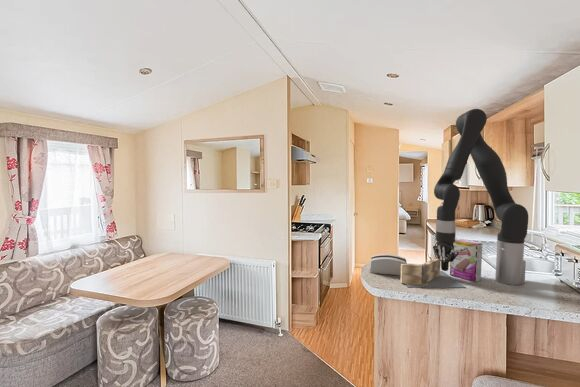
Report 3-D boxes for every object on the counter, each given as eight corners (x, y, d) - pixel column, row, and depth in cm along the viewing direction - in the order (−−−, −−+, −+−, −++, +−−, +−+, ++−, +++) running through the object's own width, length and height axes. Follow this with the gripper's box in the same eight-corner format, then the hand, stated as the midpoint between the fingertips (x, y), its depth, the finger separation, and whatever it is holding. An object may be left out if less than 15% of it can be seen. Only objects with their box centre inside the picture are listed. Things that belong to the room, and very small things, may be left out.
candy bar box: (449, 275, 137) (450, 239, 136) (455, 273, 140) (456, 237, 139) (475, 282, 128) (477, 244, 127) (481, 280, 131) (483, 242, 130)
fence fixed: (425, 283, 128) (425, 264, 127) (427, 284, 126) (427, 265, 125) (400, 282, 128) (400, 263, 128) (401, 284, 126) (402, 265, 126)
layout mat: (442, 271, 142) (442, 270, 142) (465, 287, 122) (465, 287, 122) (392, 271, 143) (392, 270, 143) (407, 287, 123) (407, 286, 123)
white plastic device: (408, 272, 140) (408, 253, 136) (408, 278, 136) (408, 260, 132) (370, 268, 146) (369, 251, 142) (369, 275, 142) (368, 257, 138)
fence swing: (435, 274, 137) (436, 257, 137) (440, 275, 136) (440, 258, 135) (423, 281, 128) (423, 263, 128) (427, 282, 127) (427, 264, 126)
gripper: (465, 232, 125) (464, 274, 126) (442, 227, 138) (441, 265, 139) (449, 234, 123) (448, 276, 124) (427, 228, 136) (426, 266, 137)
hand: (444, 270), depth 132 cm, fingers closed
